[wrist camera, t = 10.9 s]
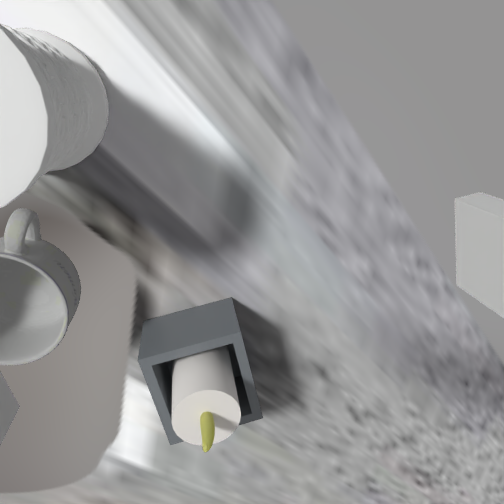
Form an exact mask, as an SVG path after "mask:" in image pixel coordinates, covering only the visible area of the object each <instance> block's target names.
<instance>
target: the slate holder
mask: <svg viewBox="0 0 504 504" xmlns="http://www.w3.org/2000/svg"><path fill="white" fill-rule="evenodd" d="M224 345H228V350H229V355H230V360H231V365H232V370H233V375H234V380H235V385H236V390H237V395H238V400H239V405H240V411H241V418H240V423H239V425H241V424H245V423H248V422H251V421H255V420H258V419H262V418H263V416H262V412H261V408H260V404H259V400H258V396H257V393H256V389H255V385H254V381H253V377H252V373H251V369H250V366H249V362H248V358H247V354H246V350H245V346H244V342H243V338H242V335H241V331H240V327H239V323H238V319H237V316H236V312H235V308H234V304H233V301H232V297H231V298H227V299H224V300H220V301H216V302H213V303H209V304H205V305H201V306H198V307H194V308H190V309H186V310H183V311H179V312H175V313H171V314H168V315H164V316H160V317H156V318H153V319H149V320H145V321H144V322H143V328H142V335H141V342H140V349H139V355H138V362H139V365H140V367H141V370H142V372H143V375H144V378H145V380H146V383H147V385H148V388H149V391H150V393H151V396H152V398H153V401H154V404H155V406H156V409H157V411H158V414H159V417H160V419H161V422H162V424H163V427H164V430H165V432H166V435H167V437H168V440H169V443H170V445H173V444H176V443H179V442H183V440H182V439H181V438H180V437H178V436H177V434H176V433H175V431H174V430H173V426H172V423H171V421H172V364H173V360H174V359H177V358H181V357H185V356H188V355H192V354H196V353H199V352H203V351H206V350H210V349H214V348H217V347H221V346H224Z"/></svg>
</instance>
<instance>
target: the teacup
mask: <svg viewBox="0 0 504 504" xmlns="http://www.w3.org/2000/svg"><path fill="white" fill-rule="evenodd" d="M80 294H81V286H80V279H79V275H78V273H77V270H76V268H75V266H74V264H73V263H72V262H71V260H70V259H69V258H68V257H67V256H66V254H65V253H64V252H62V251H61V250H60V249H59V248H57V247H56V246H54V245H52V244H50V243H49V242H47V241H44V240H42V239H41V235H40V225H39V217H38V215H37V213H36V212H34V211H32V210H30V209H23V208H19V209H17V210H15V211H14V212H13V213H12V215H11V216H10V218H9V220H8V223H7V226H6V229H5V234H4V237H0V365H8V366H11V365H23V364H27V363H30V362H34V361H36V360H39V359H40V358H42V357H44V356H46V355H48V354H49V353H50V352H51V351H53V350H54V349H55V348H56V347H57V346H58V345H59V343H60V342H61V341H62V339H63V337H64V336H65V333H66V331H67V328H68V326H69V324H70V322H71V320H72V318H73V316H74V314H75V312H76V309H77V307H78V304H79V300H80Z"/></svg>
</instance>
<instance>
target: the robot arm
mask: <svg viewBox="0 0 504 504" xmlns="http://www.w3.org/2000/svg"><path fill="white" fill-rule="evenodd" d="M455 235H456V285H457V286H458V287H460V288H461V289H463V290H464V291H465V292H467V293H468V294H470V295H471V296H473V297H474V298H475V299H477V300H478V301H480V302H481V303H483V304H484V305H485V306H487V307H488V308H490V309H491V310H492V311H494V312H495V313H497V314H498V315H500V316H501V317H503V318H504V200H502V199H499V198H496V197H493V196H490V195H488V194H484V193H482V192H479V193H475V194H471V195H468V196H463V197H460V198H456V199H455ZM19 407H20V406H19V404H18V402H17V400H16V398H15V397H14V395H13V393H12V391H11V389H10V388H9V386H8V384H7V382H6V380H5V379H4V377H3V375H2V373H1V371H0V445H1V443H2V441H3V439H4V437H5V435H6V433H7V431H8V429H9V427H10V425H11V423H12V421H13V419H14V417H15V415H16V413H17V411H18V409H19Z"/></svg>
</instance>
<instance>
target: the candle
mask: <svg viewBox="0 0 504 504" xmlns="http://www.w3.org/2000/svg"><path fill="white" fill-rule="evenodd" d="M240 418H241V411H240V405H239V400H238V395H237V390H236V385H235V380H234V375H233V370H232V365H231V360H230V355H229V350H228V345H224V346H221V347H217V348H214V349H210V350H206V351H203V352H199V353H196V354H192V355H188V356H185V357H181V358H177V359H174V360H173V364H172V421H171V423H172V426H173V430H174V431H175V433H176V434H177V436H178V437H180V438H181V439H182V440H183V441H186V442H188V443H190V444H195V445H202V447H203V451H204V452H207V451H209V449H210V448H211V446H212V444H215V443H218V442H220V441H222V440H225V439H226V438H227V437H229V436H230V435H231V434H232V433H233V432H234V431H235V430H236V429H237V427H238V425H239V423H240Z"/></svg>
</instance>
